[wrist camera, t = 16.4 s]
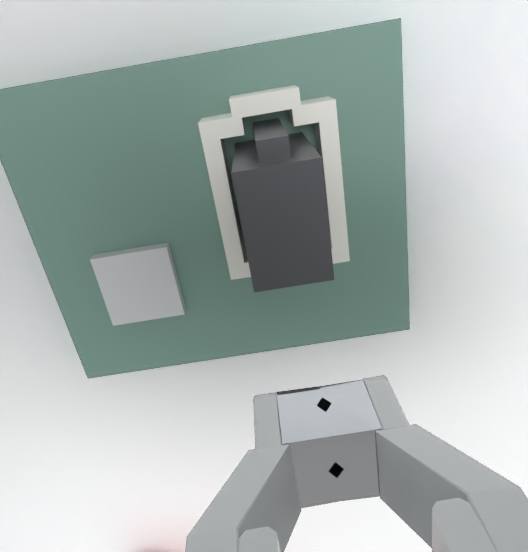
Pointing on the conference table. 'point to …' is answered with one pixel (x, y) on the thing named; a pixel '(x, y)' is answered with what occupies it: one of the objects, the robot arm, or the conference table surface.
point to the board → (211, 197)
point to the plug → (282, 208)
